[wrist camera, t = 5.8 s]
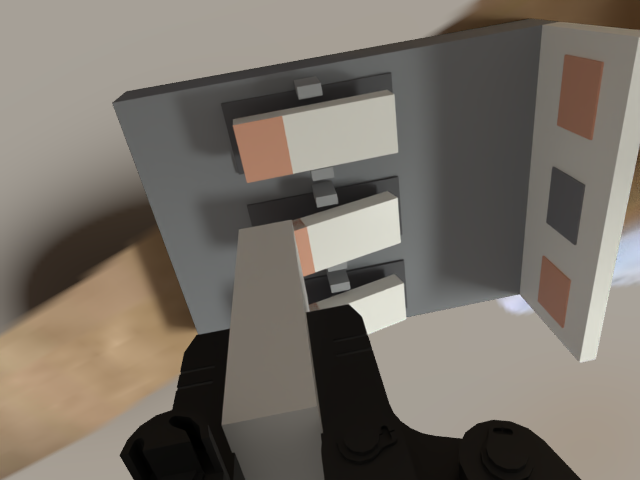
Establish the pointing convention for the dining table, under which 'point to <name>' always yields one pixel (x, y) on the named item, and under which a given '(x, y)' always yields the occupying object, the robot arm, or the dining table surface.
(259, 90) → the switch unit
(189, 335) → the dining table surface
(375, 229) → the switch
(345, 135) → the switch
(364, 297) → the switch
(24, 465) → the dining table surface
